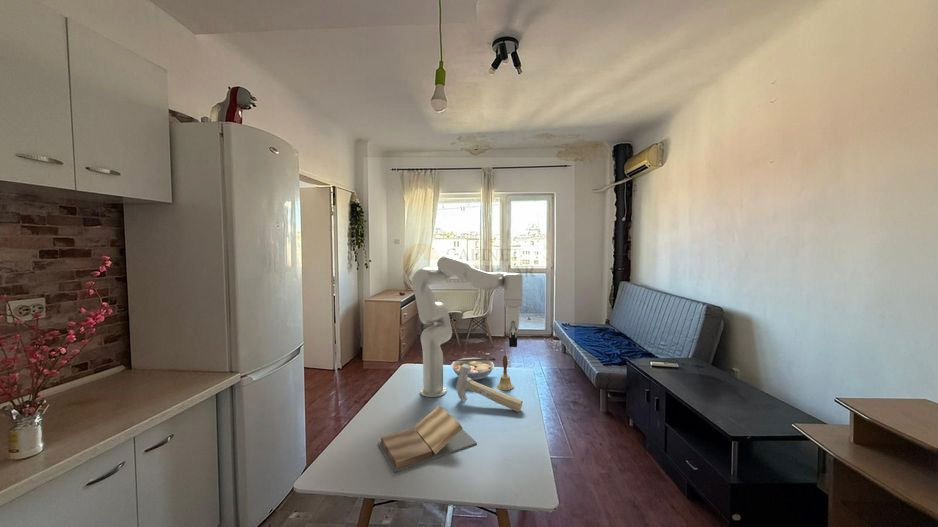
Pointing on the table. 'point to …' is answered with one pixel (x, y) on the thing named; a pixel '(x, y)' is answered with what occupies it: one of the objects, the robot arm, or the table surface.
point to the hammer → (484, 391)
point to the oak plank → (438, 428)
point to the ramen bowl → (474, 367)
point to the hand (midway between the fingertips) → (513, 343)
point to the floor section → (417, 448)
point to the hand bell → (505, 377)
